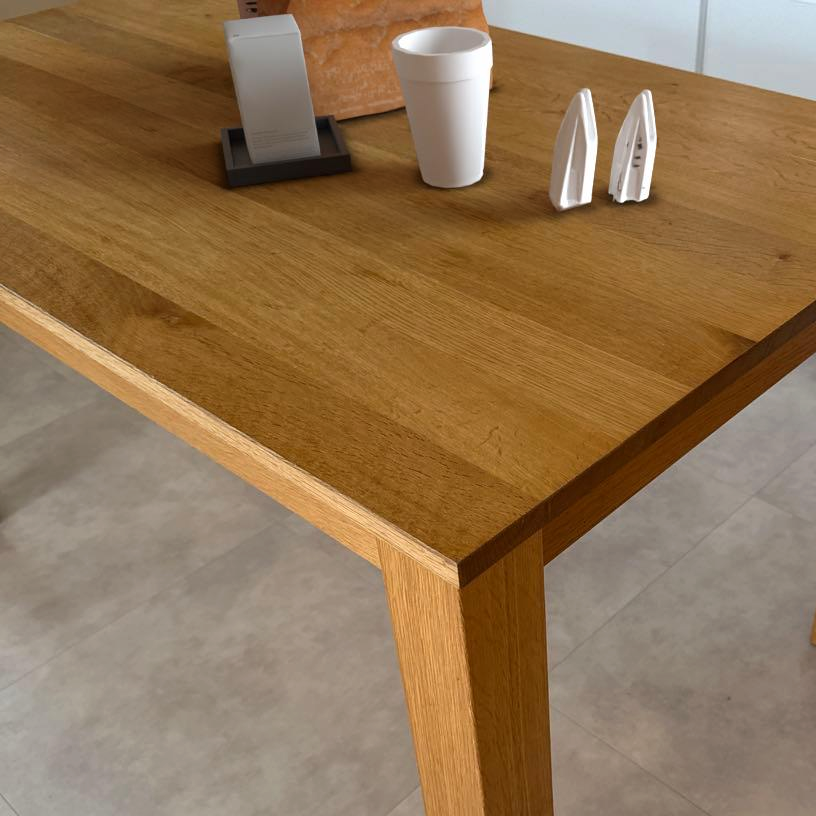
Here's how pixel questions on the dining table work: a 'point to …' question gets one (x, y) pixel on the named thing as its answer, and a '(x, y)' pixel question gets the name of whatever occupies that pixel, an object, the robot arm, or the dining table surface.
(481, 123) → the foam cup
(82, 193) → the dining table surface
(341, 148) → the black rectangular tray
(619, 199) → the shaker set
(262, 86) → the white packaging box
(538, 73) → the dining table surface
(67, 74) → the dining table surface
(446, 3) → the bread
